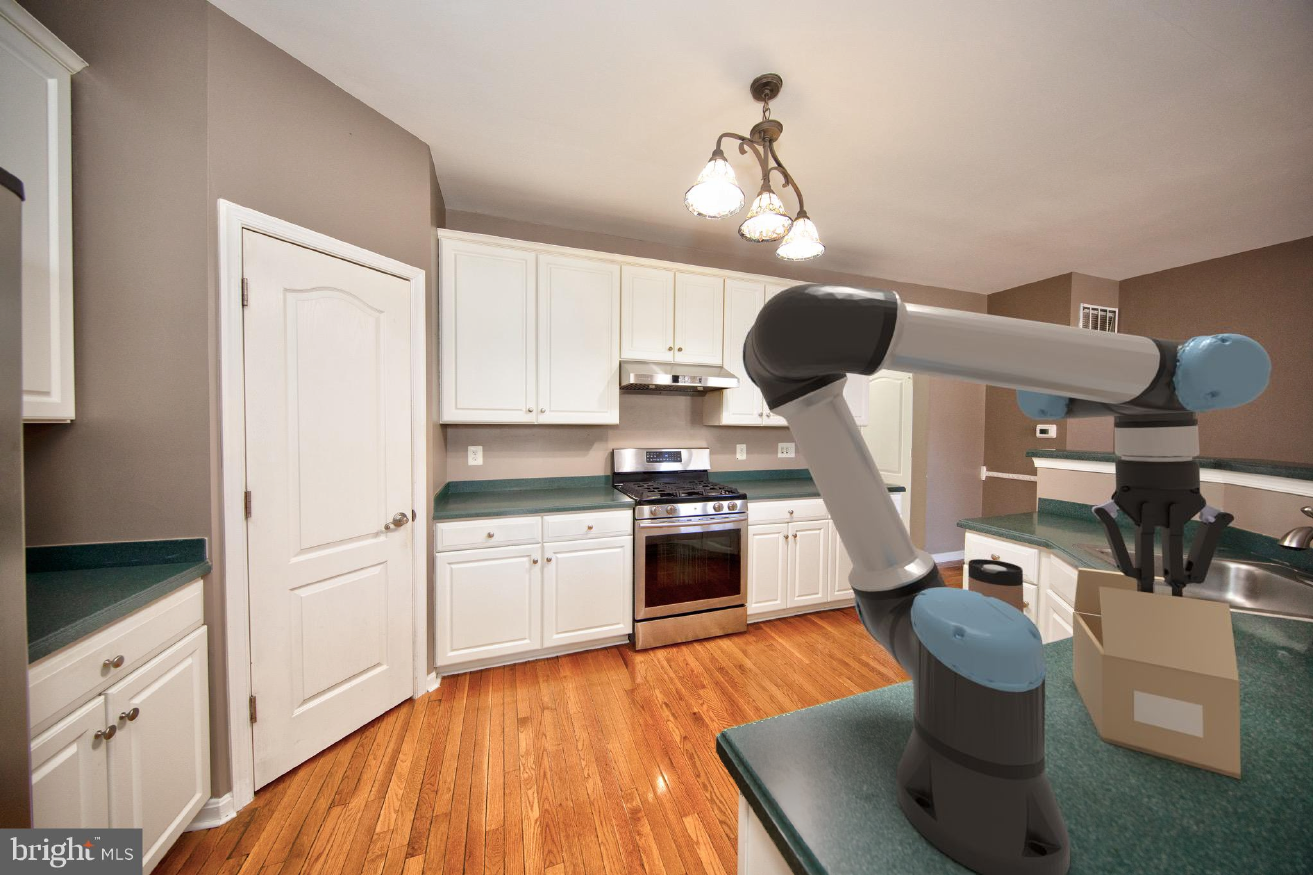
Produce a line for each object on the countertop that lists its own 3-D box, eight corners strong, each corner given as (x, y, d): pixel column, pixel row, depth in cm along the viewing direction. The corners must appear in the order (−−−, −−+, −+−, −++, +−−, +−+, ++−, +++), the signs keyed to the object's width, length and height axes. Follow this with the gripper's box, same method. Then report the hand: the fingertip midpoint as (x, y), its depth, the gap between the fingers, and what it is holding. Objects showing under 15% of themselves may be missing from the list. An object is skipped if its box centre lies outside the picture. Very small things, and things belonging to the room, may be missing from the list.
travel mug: (1004, 669, 79) (1003, 559, 79) (1036, 694, 71) (1035, 572, 71) (959, 667, 79) (958, 558, 80) (986, 691, 72) (985, 570, 72)
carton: (1241, 779, 53) (1239, 681, 53) (1103, 741, 60) (1102, 654, 60) (1178, 705, 68) (1177, 628, 68) (1073, 681, 75) (1072, 611, 75)
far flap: (1074, 611, 75) (1073, 609, 75) (1175, 627, 68) (1174, 625, 69) (1079, 569, 72) (1078, 567, 72) (1185, 582, 65) (1183, 579, 65)
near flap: (1236, 679, 53) (1238, 680, 53) (1103, 653, 60) (1104, 654, 60) (1227, 603, 55) (1229, 603, 55) (1099, 586, 62) (1100, 586, 61)
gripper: (1215, 455, 58) (1219, 628, 59) (1081, 456, 66) (1086, 610, 66) (1247, 460, 52) (1252, 653, 53) (1096, 460, 59) (1101, 630, 60)
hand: (1160, 629), depth 59 cm, fingers closed
